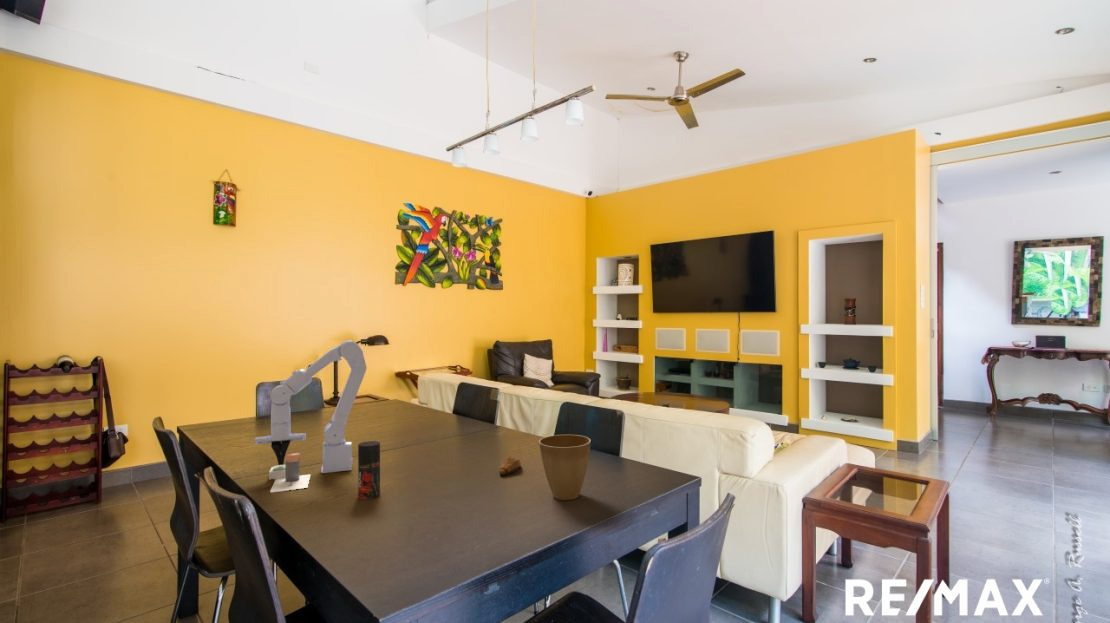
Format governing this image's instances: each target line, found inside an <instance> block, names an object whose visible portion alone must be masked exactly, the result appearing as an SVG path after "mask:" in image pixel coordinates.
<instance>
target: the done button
mask: <svg viewBox="0 0 1110 623" xmlns="http://www.w3.org/2000/svg"><path fill="white" fill-rule="evenodd" d="M273 467H274V468H273V471H278V470H285V464H283V465H278V464H277V465H274V466H273Z"/></svg>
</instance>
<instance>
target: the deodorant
mask: <svg viewBox="0 0 1110 623" xmlns="http://www.w3.org/2000/svg"><path fill="white" fill-rule="evenodd" d="M357 445H358V448H357V449H358V450H357V451H358V452H357V456H358V457H357V460H358V461H357V462H358V463H357V465H358V468H357V470H358V471H357V472H358V474H357V480H358V481H357V484H358V487H357V489H358V490H357V491H358V492H357V497H358V499H361V500H371V499H375V498H378V497H379V496H380V495H381V442H380V441H378V440H369V441H362V442H359V443H358V444H357Z"/></svg>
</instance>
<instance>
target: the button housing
mask: <svg viewBox="0 0 1110 623" xmlns="http://www.w3.org/2000/svg"><path fill="white" fill-rule="evenodd" d="M273 468H274V466H271V468H270V470H269V471H268V480H269V481H270V480H271V479H273V480H276V478H282V477H285V470H278V471H273Z"/></svg>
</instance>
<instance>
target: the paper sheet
mask: <svg viewBox="0 0 1110 623" xmlns="http://www.w3.org/2000/svg"><path fill="white" fill-rule="evenodd" d="M311 476H312V474H309V473H308V474H301V475H300V479H299V480H297V481H293V482H286V481H285V477H282V478H276V479H274V481H273V482H274V483H273V485H272V487H271V488H270V491H269V494H274V493H282V492H289V490H291V491H297V490H296V489H299V490H305V489H304V488H307V489H309V485H310V484H309V483H310V481H309V480H311ZM308 484H309V485H308Z"/></svg>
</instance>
